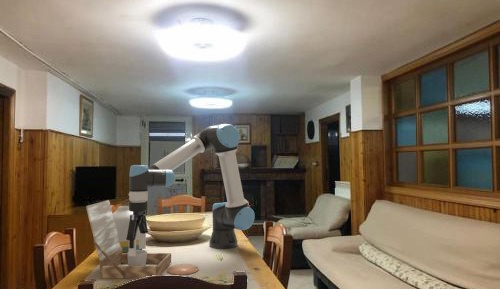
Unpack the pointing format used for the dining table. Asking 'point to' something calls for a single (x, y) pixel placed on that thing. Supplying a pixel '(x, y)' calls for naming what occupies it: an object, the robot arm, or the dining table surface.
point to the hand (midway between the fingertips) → (137, 252)
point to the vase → (124, 227)
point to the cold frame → (118, 247)
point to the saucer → (182, 269)
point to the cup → (138, 258)
